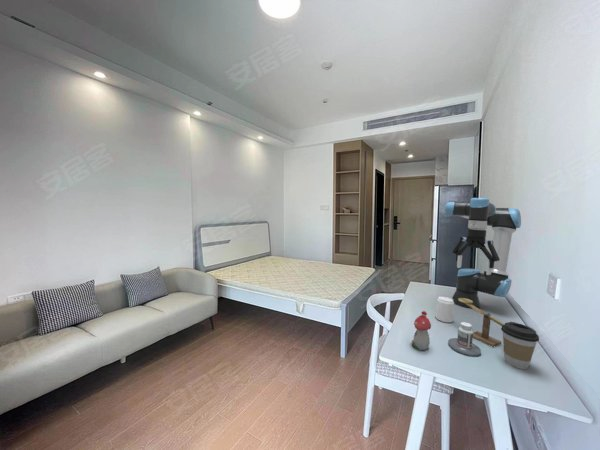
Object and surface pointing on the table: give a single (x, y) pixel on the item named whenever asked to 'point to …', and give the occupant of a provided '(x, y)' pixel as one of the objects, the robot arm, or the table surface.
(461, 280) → the robot arm
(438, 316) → the beverage can
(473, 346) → the flat grey disc
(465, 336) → the pill bottle
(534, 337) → the coffee cup
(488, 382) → the table surface
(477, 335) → the balance
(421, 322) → the decorative ornament
